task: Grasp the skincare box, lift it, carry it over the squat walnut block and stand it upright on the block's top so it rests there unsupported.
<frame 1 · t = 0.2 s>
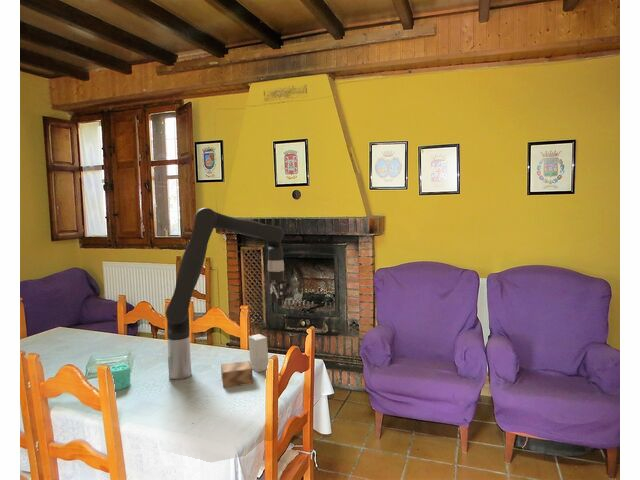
hand: (276, 304, 195), 28 cm above the table, fingers open, 8 cm apart
walnut block: (236, 380, 178), on the table
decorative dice: (119, 386, 174), on the table
skincare box: (259, 368, 190), on the table
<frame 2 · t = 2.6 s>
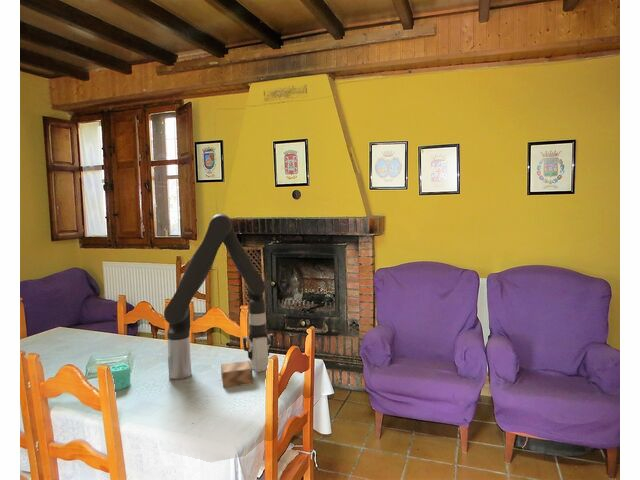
hand: (258, 358, 190), 5 cm above the table, fingers closed on skincare box, 6 cm apart
skincare box: (259, 368, 190), on the table, touching gripper
everything else where it was.
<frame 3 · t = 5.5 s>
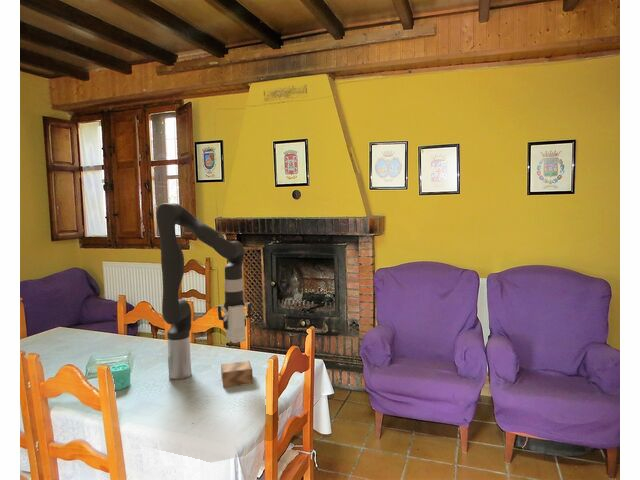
hand: (234, 328, 176), 23 cm above the table, fingers closed on skincare box, 6 cm apart
skincare box: (235, 340, 176), point 17 cm above the table, touching gripper
everything else where it was.
when the fingers open (12 cm above the table, at t = 8.1 s): skincare box drops 1 cm, resting on walnut block.
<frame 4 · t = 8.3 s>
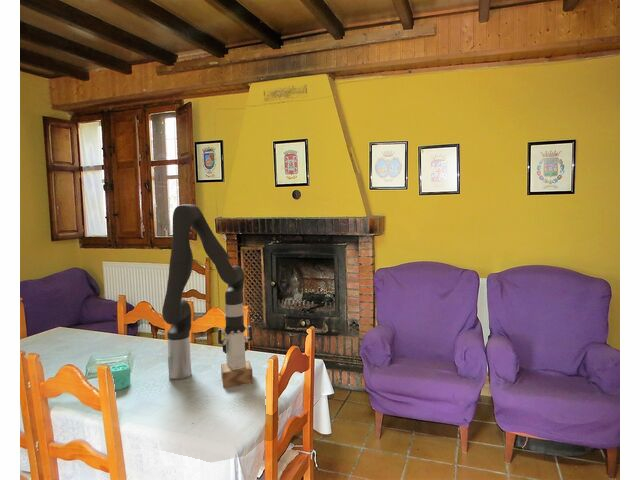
hand: (235, 351, 176), 13 cm above the table, fingers open, 8 cm apart
skincare box: (235, 366, 177), point 6 cm above the table, touching walnut block
everything else where it was.
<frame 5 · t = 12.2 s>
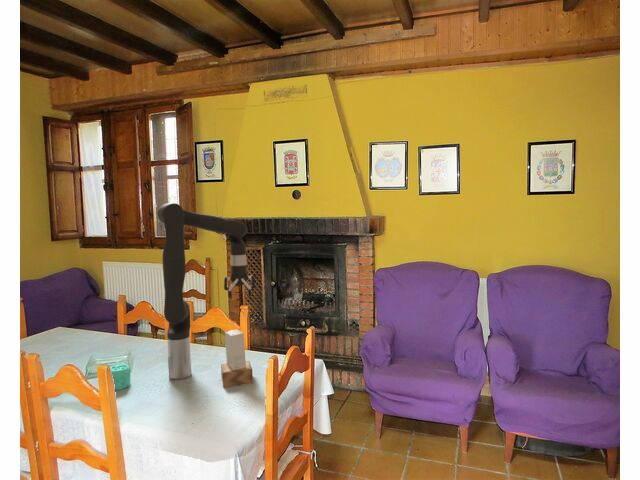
hand: (239, 297, 199), 30 cm above the table, fingers open, 8 cm apart
nothing on the table moved.
at the end: skincare box inside the target area on the walnut block (0.2 cm from its centre), point 6.0 cm above the walnut block's base; skincare box tilted 0°; skincare box touching walnut block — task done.
